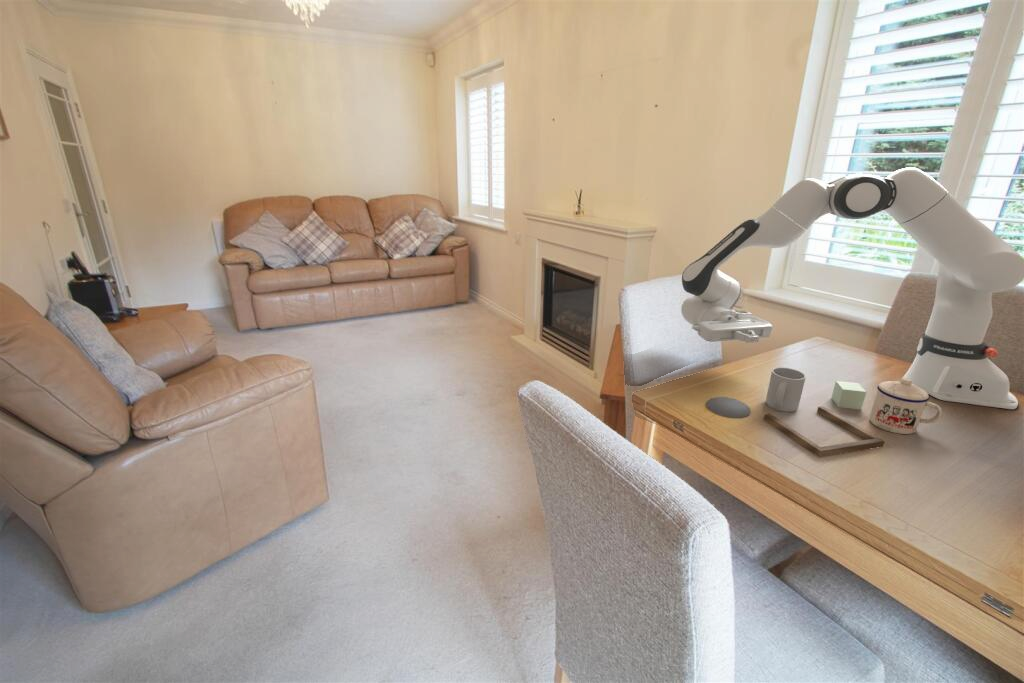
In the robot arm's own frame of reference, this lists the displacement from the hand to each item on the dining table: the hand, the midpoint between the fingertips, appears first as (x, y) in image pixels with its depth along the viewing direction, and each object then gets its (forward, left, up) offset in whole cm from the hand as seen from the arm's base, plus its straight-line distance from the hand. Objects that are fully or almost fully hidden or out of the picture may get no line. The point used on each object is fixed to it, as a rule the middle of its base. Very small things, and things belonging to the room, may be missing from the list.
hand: (754, 339), depth 121 cm
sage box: (-23, -2, -14) cm, 27 cm away
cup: (-9, +9, -14) cm, 19 cm away
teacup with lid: (-33, +5, -14) cm, 36 cm away
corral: (-17, +16, -14) cm, 27 cm away
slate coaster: (+2, +16, -14) cm, 21 cm away
